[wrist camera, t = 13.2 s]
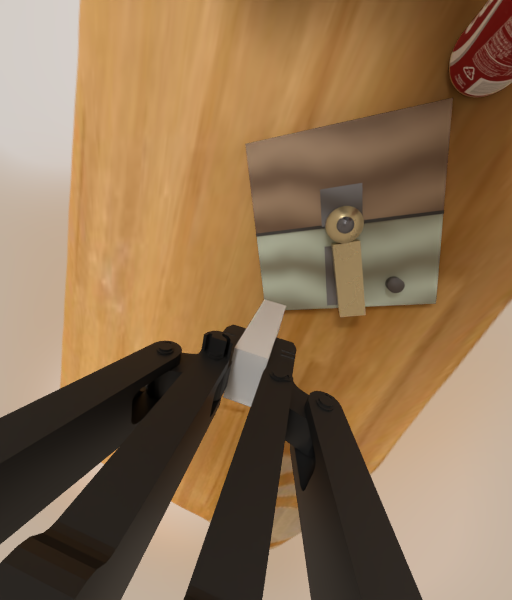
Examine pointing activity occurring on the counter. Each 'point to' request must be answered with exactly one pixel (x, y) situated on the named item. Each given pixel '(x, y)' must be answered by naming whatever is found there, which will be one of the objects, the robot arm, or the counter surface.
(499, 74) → the soda can
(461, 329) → the counter surface
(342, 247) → the swing bar
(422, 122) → the latch board
